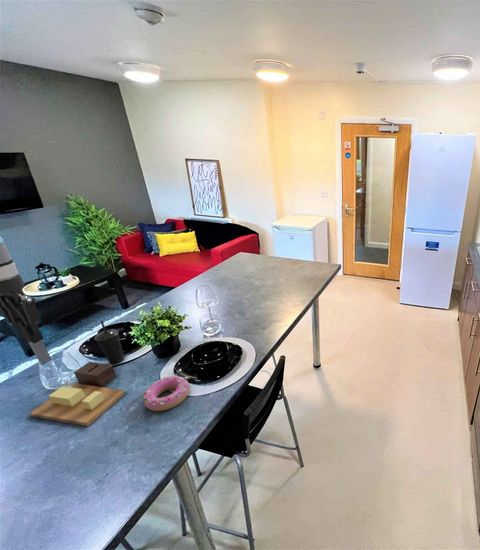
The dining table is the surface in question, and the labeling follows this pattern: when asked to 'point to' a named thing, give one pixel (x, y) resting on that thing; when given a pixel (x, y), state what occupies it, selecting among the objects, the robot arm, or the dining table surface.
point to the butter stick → (67, 396)
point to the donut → (168, 401)
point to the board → (78, 406)
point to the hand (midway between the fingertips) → (34, 340)
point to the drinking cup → (110, 344)
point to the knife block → (95, 374)
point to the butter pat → (93, 400)
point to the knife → (35, 345)
